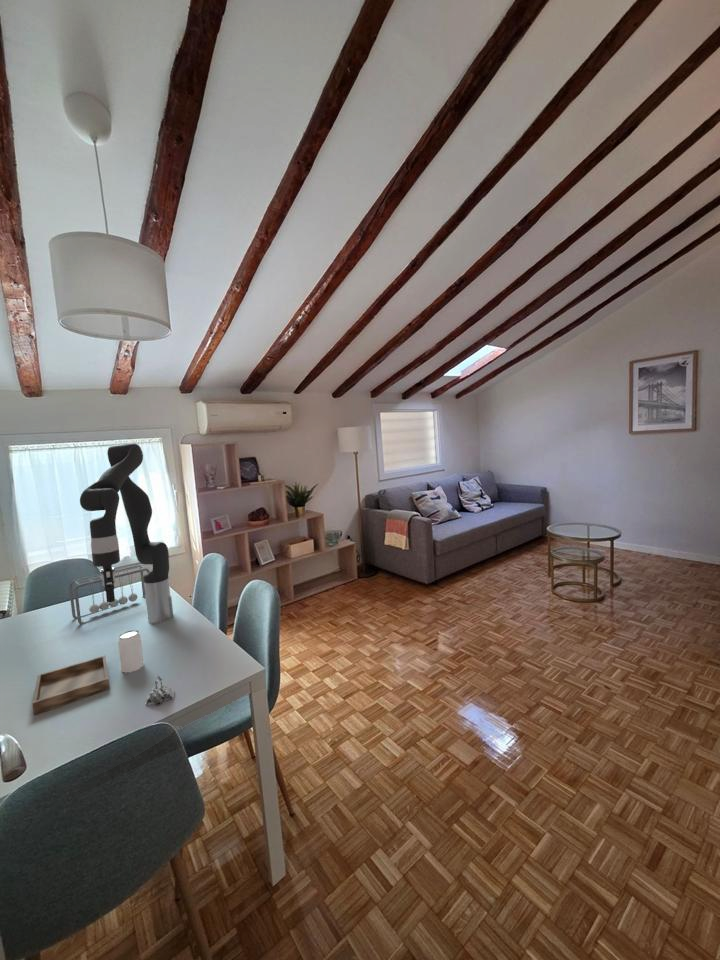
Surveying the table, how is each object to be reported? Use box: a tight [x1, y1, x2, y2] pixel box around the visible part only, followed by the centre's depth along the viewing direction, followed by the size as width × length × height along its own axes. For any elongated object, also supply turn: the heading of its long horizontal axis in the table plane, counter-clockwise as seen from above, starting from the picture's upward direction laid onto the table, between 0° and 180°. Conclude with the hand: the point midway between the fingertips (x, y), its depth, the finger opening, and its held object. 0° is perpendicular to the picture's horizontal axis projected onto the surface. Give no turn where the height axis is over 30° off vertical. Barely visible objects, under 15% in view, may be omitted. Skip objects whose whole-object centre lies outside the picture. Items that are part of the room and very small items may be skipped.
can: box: [117, 629, 144, 674], centre depth 132 cm, size 6×6×12 cm
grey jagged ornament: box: [145, 674, 176, 706], centre depth 112 cm, size 9×9×8 cm
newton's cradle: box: [68, 564, 151, 625], centre depth 183 cm, size 30×10×18 cm, turn 137°
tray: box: [31, 655, 111, 716], centre depth 123 cm, size 18×18×4 cm
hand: (110, 598), depth 132 cm, fingers open, 8 cm apart
